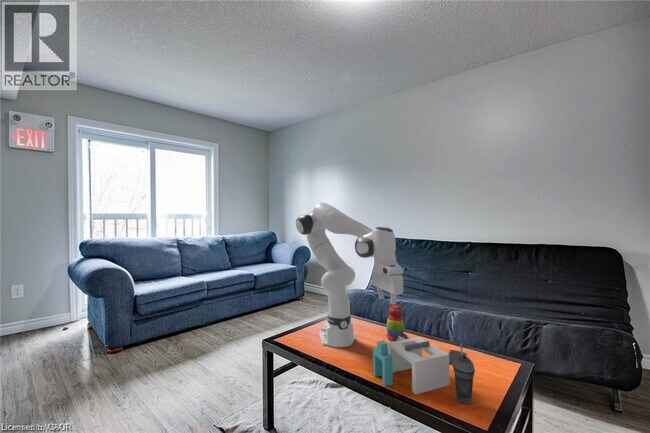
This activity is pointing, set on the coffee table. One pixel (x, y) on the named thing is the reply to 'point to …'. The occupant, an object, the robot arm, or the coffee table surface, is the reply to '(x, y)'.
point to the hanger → (383, 363)
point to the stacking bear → (395, 324)
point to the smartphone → (454, 355)
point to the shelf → (421, 363)
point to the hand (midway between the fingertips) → (387, 301)
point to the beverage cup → (463, 378)
